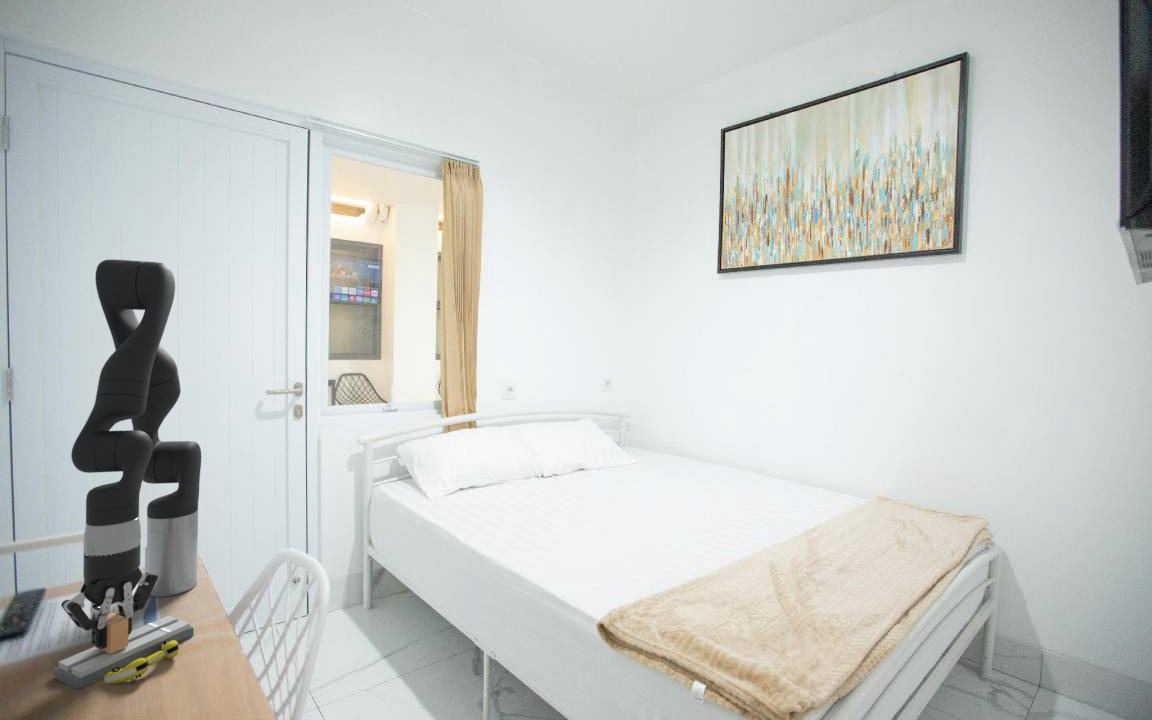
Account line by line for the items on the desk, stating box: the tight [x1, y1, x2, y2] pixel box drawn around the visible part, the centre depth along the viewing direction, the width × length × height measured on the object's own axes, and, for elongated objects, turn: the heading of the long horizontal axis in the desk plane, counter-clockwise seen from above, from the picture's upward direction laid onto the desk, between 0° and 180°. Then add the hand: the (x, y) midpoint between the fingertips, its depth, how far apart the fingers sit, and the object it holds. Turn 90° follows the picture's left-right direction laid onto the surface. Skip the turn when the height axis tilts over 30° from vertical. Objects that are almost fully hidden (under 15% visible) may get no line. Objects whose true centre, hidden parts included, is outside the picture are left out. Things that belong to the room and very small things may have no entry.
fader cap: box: [98, 612, 128, 654], centre depth 94 cm, size 3×4×6 cm, turn 67°
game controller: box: [103, 640, 180, 685], centre depth 93 cm, size 10×6×4 cm, turn 165°
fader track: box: [53, 615, 194, 690], centre depth 97 cm, size 18×7×3 cm, turn 157°
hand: (111, 642), depth 94 cm, fingers closed on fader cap, 2 cm apart
